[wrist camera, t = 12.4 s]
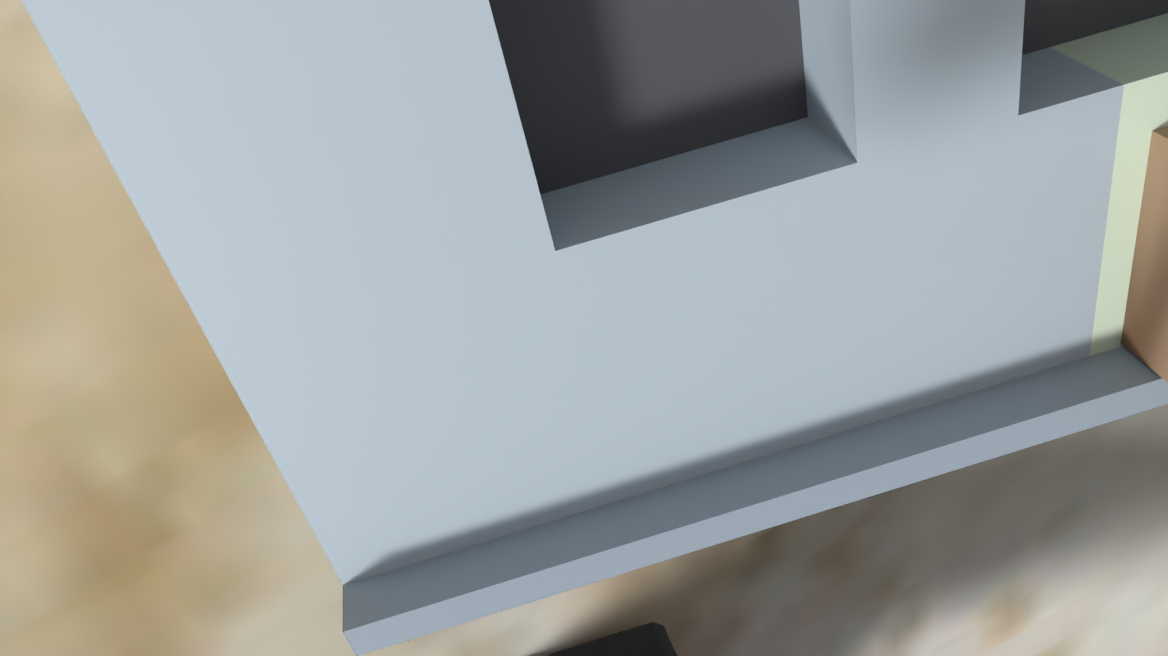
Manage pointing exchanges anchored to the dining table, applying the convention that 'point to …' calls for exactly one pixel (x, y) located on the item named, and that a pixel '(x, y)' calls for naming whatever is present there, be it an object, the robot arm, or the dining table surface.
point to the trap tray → (628, 257)
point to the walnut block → (1151, 266)
